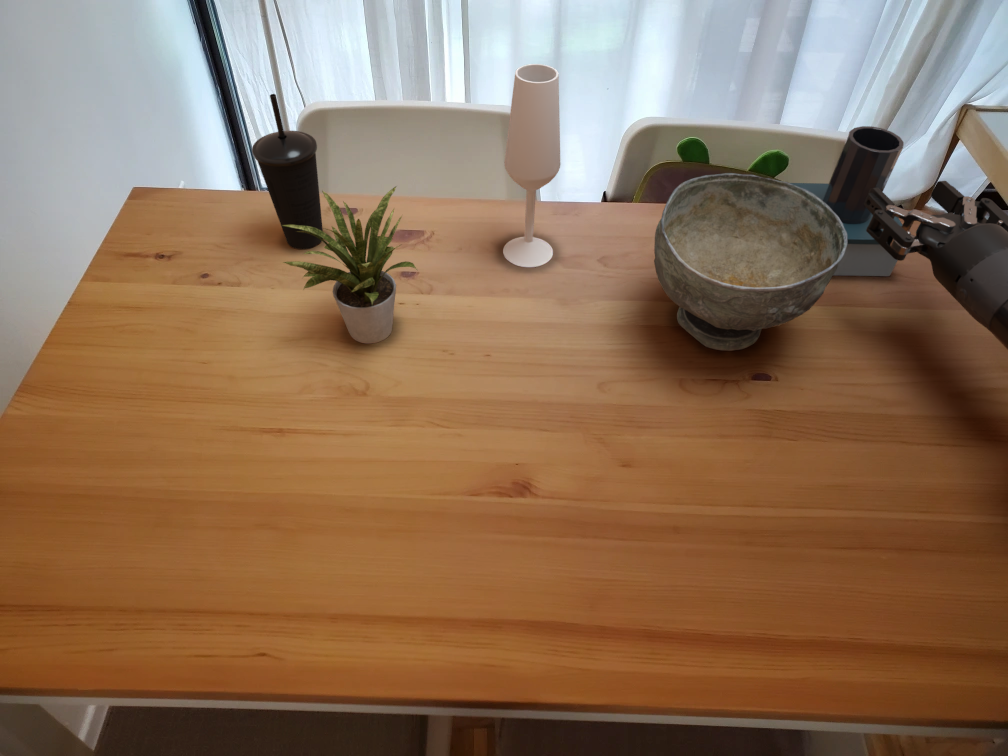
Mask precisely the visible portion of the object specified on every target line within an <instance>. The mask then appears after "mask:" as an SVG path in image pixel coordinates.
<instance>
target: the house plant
mask: <svg viewBox="0 0 1008 756" xmlns="http://www.w3.org/2000/svg"><path fill="white" fill-rule="evenodd" d="M396 188H397V186H394V187H393V188H391V189H390V190H389V191H387V193H386V194H384V196H382V198H381V200H380V202H379V203H378V205H377V207H376V208H375V210H374V211H373V212H372V213H371V214H370V216H369V218H368V220H367V222H366V224H365V229H364V233H363V226H362V221H361V220H360V218H357V220H355V216H354V213H353V212H352V209H351V208H350V207H349V205H348V204H347V202H345V201H344V200H342V202H343V205H344V207H345V211H346V213H347V214H346V215H347V216H348V220H349V224H350V228H351V233H352V235H353V238H354V240H353V238H352V236H351V233H350V231H349V229H348V226H347V223H346V221H345V217H344V214H343V213H342V210H341V208H340V206H339V205H338V203H336V201H335V200H333V198H332V197H331V196H330V195H329V194H328V193H327V192H325V190H321V192H322V193H323V196H324V198H325V199H326V201H327V203H328V205H329V207H330V209H331V211H332V214H333V217H334V219H335V222H336V226H337V228H338V230H337V229H336V228H335V227H334V226H333V225H331V228H332V229H328V228H324V227H322V228H323V229H325V230H327V231H329V232H332V233H333V235H334V238H333V237H332V236H330V234H327V233H326V232H324V230H323V231H321V230H319V229H317V228H315V227H310V226H301V225H282V226H287V227H292V228H297V229H301V230H305V231H297V232H304V233H309V234H311V235H314V236H316V237H317V238H319V239H320V240H322V242H323V244H325V246H323V248H324V249H325V250H328V251H330V252H333V253H334V254H335V255H336V256H337V257H338V258H339V259H340V260H341V261H340V260H339V259H338V258H335V257H334V256H332V255H330V254H329V253H326V252H323V251H320V250H307V251H305V252H304V253H303V255H319V256H325V257H328V258H330V259H333V260H335V261H337V262H339V263H341V262H342V265H343V266H344V267H345V268H346V269H348V270H349V271H345V270H342V269H341V268H336V267H333V266H328V265H322V264H317V263H313V262H308V261H301V260H295V261H283V262H282V263H283V264H286V265H289V266H290V267H297V268H301V269H303V270H305V271H307V272H306V273H305V274H304V275H303V276H302V278H305V277H307V278H309V279H308V280H307V282H306V283H305V285H304V287H303V289H302V291H305V289H309V288H313V287H314V286H317V285H319V284H322V283H326V282H329V281H332V282H333V281H334V282H335V283H334V285H333V287H332V295H333V298H334V301H335V303H336V306H337V308H338V310H339V312H340V315H341V317H342V319H343V322H344V324H345V326H346V328H347V331H348V333H349V335H350V337H351V338H352V339H353V340H355V341H356V342H358V343H362V344H377V343H379V342H383V341H385V340H386V339H387V338H389V336H390V335H391V334H392V331H393V325H394V324H393V323H394V313H395V305H396V304H395V302H396V293H397V283H396V280H395V279H394V278H393V276H392V275H391V274H390V273H388V272H390V271H391V270H395V269H399V268H413V269H415V270H416V271H418V268H417V267H416V266H415V264H414V262H411V261H406V260H405V261H400V262H398V263H395V264H393V265H391V266H389V267H388V268H387V269H386V270H383V269H384V267H385V265H386V263H387V262H388V260H389V259H390V257H391V256H392V254H393V252H394V251H395V249H397V248H399V247H400V246H402V245H403V244H400V245H397V246H389V245H390V244H391V242H392V240H394V239H393V237H394V234H395V233H396V230H397V228H398V226H399V224H400V222H401V219H402V217H403V214H402V215H401V216H400V217H399V219H398V220H397V221H396V223H395V224H394V226H393V227H392V229H391V231H390V233H389V234H388V236H386V234H387V232H388V230H389V228H390V225H391V222H392V218H393V216H394V211H395V207H393V210H392V211H391V212H390V214H389V216H388V217H387V219H386V221H385V224H384V226H383V229H382V231H381V233H380V235H379V232H380V228H381V225H382V222H383V217H384V215H385V213H386V211H387V209H388V206H389V203H390V200H391V198H392V195H393V194H394V193H395V191H396ZM307 231H308V232H307ZM319 236H320V237H319ZM321 237H322V238H323V239H322V238H321ZM418 272H419V271H418Z"/></svg>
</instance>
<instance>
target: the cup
mask: <svg viewBox="0 0 1008 756" xmlns="http://www.w3.org/2000/svg"><path fill="white" fill-rule="evenodd" d="M904 143H905V142H904V141H903V139H902V138H901V137H900V136H899V135H897V134H896V133H895V132H893V131H890V130H889V129H886V128H882V127H877V126H872V125H871V126H870V125H869V126H868V125H867V126H866V125H865V126H864V125H862V126H857V127H854V128H852V129H851V130H850V131H848V133H847V136H846V139H845V141H844V144H843V146H842V149H841V152H840V153H839V156H838V159H837V162H836V163H835V167H834V169H833V172H832V174H831V177H830V179H829V182H828V183H827V184H828V187H827V189H826V192H825V194H824V197H823V200H822V201H823V202H825V203H826V204H827V205H828V206H829V207H830V208H831V209H832V210H833V212H834V213H835V214H836V215H837V216H838V217H839V218H840V220H841V222H842V223H847V224H861V223H864V222H866V221H868V220H869V219H870V217H871V215H872V213H871V212H870V211H869V210H868V209H867V208H866V207H865V206H864V202H865V199H866V197H867V195H868V193H869V190H870V189H871V188H879V189H880V190H881V191H882V192H883V193H884V190H885V188H886V186H887V184H888V181H889V179H890V177H891V175H892V173H893V171H894V168H895V166H896V164H897V162H898V160H899V158H900V155H901V154H902V151H903V149H904Z"/></svg>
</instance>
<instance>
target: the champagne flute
mask: <svg viewBox="0 0 1008 756" xmlns="http://www.w3.org/2000/svg"><path fill="white" fill-rule="evenodd" d="M512 87H513V88H512V96H511V103H510V104H511V105H510V112H509V113H510V114H509V121H508V129H507V138H506V147H505V155H504V169H505V171H506V173H507V174H508V176H509V177H510V179H511V180H512V181H513V182H514V183H516V184H517V185H518V186H519V187H521V189H524V190H525V212H524V234H523V236H519V237H515V238H512V239H510V240H509V241H507V242H506V244H505V245H504V246H503V249H502V253H503V257H504V258H505V259H506V260H507V261H508V262H509V263H511V264H512V265H515V266H518V267H522V268H535V267H536V268H537V267H540V266H543V265H545V264H547V263H548V262H549V261H550V260H551V259H552V258H553V255H554V249H553V248H552V246H551V244H549V242H547V241H546V240H544V239H542V238H539V237H535V236H534V231H535V214H536V195H537V194H536V193H537V190H540V189H542V188H543V187H544V186H546V185H548V184H549V183H551V182H552V180H554V178H555V177H556V176H557V174H559V171H560V169H561V127H560V126H561V123H560V118H561V117H560V76H559V71H558V70H557V68H555V67H553V66H551V65H548V64H544V63H529V64H524V65H521V66H519V67H518V68H517V69H516V70H515V72H514V80H513V86H512Z"/></svg>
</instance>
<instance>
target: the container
mask: <svg viewBox="0 0 1008 756" xmlns="http://www.w3.org/2000/svg"><path fill="white" fill-rule="evenodd" d="M789 183H790V184H792V185H795V186H797V187H800V188H803V189H806V190H807V191H809V192H811V193H813V194H814V195H816V196H817V197H818V198H820V199H821V200H823V197H824V194H825V192H826V189H827V187H828V184H829V183H823V182H822V183H821V182H819V183H818V182H817V183H816V182H789ZM872 217H873V214H872V215H871V217H870V219H869V220H868V221H866V222H864V223H861V224H847V223H842V224H843V226H844V228H845V230H846V232H847V247H846V251H845V253H844V255H843V257H842V259H841V260H840V262H839V264H838V267H837V269H836V271H835V273H834V274H833V276H841V277H843V276H845V277H848V276H850V277H851V276H852V277H890V276H891V275H892V272H893V271H894V269H895V267H896V265H897V263H898V261H899V260H896V259H894V258H893V257H892V256H891V255H890V254H889V253H888V252H887V251H886V250H885V249H884V248H883V247H882V246H881V245H880V244H879V243H878V242H877V241H876V240H875V239H874V238H873V237H872V236H871V235H870V234H869V233H868V232H867V231H866V229H867V227H868V225H869V223H870V221H871V219H872ZM893 220H894V221H895V222H897V223H898V224H899V225H900V226H902V225H903V222H902V221H901V219H900V218H898V217H894V219H893ZM881 230H882V231H883V229H881Z"/></svg>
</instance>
